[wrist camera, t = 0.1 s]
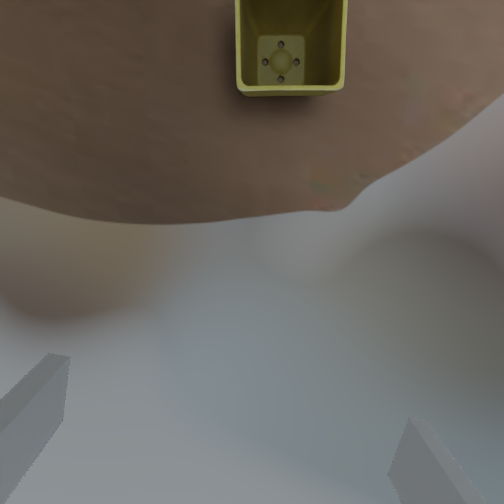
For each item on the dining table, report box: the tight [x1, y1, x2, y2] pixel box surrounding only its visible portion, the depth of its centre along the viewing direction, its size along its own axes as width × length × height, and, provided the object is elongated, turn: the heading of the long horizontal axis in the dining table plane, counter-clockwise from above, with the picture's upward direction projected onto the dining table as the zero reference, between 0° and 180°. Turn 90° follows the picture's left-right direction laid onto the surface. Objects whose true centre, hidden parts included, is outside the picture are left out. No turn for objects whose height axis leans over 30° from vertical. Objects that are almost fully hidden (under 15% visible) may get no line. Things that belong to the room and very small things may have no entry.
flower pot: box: [235, 0, 348, 97], centre depth 32 cm, size 9×9×9 cm
